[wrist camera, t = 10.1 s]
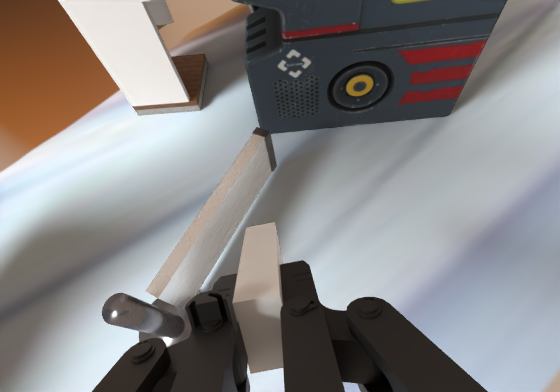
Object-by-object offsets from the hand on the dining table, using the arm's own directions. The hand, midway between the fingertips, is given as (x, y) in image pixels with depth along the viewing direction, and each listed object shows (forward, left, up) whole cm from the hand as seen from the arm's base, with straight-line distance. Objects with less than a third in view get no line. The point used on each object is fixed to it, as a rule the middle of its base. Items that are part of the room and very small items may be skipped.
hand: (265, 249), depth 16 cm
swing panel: (-10, +7, -20) cm, 24 cm away
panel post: (-12, -6, -22) cm, 26 cm away
